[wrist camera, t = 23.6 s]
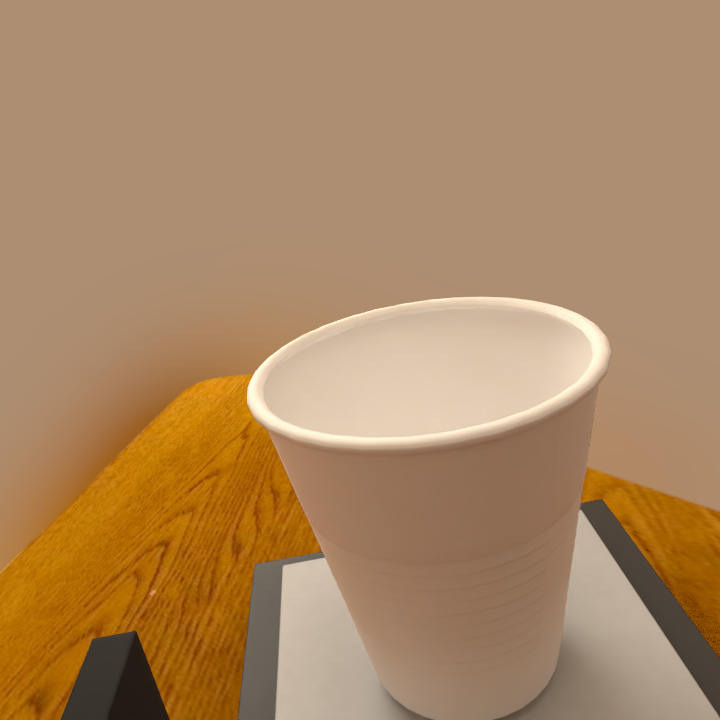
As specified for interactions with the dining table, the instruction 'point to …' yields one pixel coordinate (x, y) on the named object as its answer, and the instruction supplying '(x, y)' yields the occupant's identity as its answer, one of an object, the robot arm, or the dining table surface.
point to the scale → (574, 666)
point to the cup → (444, 485)
